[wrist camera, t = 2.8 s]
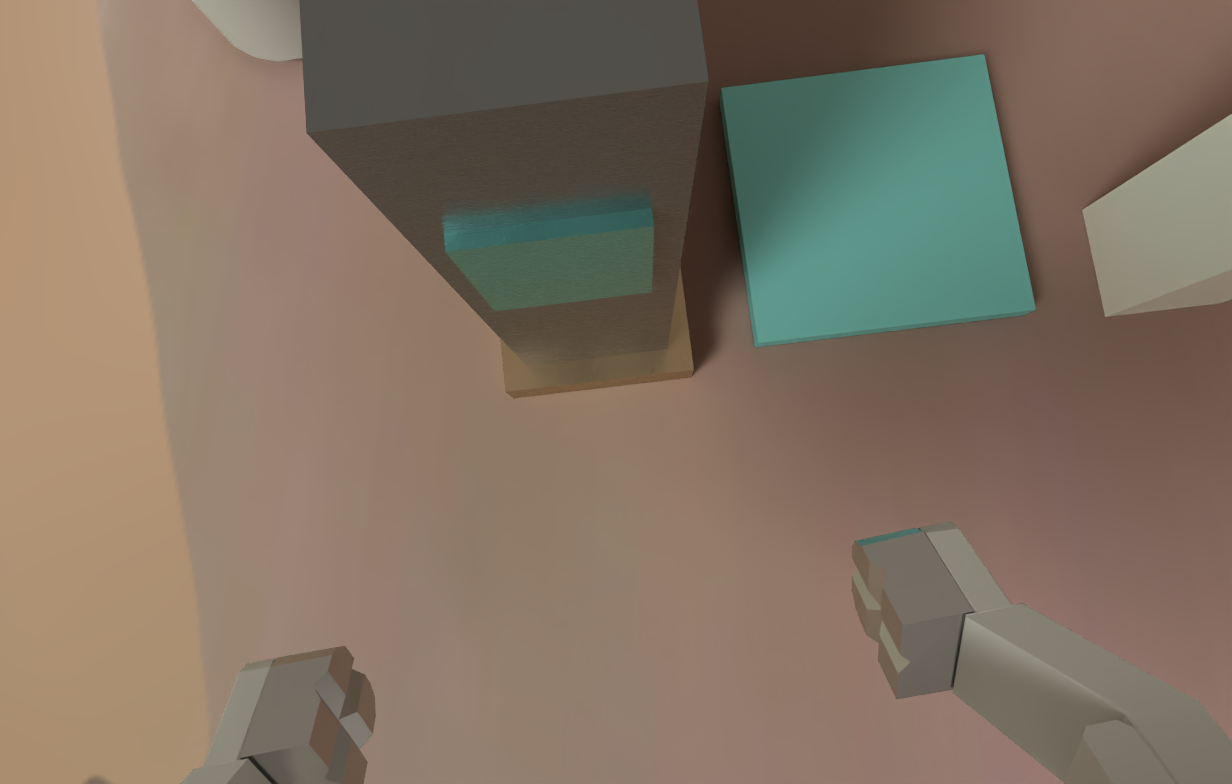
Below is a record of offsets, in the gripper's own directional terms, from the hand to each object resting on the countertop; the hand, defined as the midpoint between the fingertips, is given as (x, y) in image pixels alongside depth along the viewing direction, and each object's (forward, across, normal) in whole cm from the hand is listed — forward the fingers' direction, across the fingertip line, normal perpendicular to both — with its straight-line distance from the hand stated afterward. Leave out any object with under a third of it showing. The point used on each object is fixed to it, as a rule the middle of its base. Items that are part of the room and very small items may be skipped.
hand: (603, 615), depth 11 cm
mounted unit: (+24, -1, +3) cm, 25 cm away
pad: (+23, -14, +5) cm, 27 cm away
